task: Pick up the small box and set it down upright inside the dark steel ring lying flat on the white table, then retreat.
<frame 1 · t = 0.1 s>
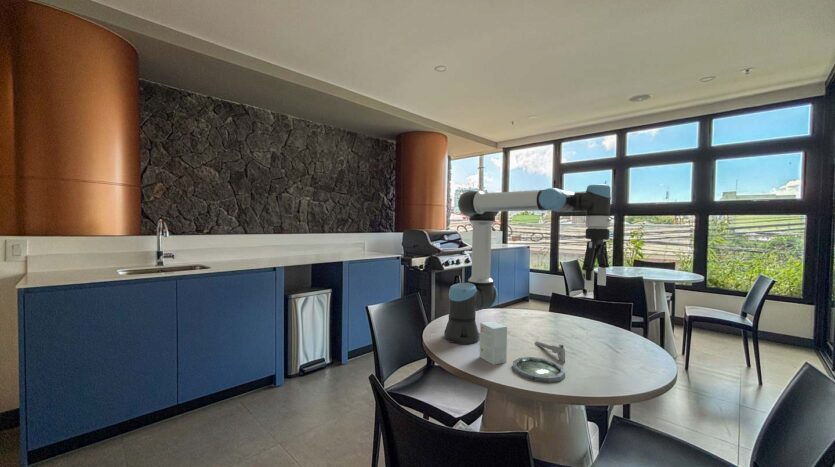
hand: (595, 287, 120), 28 cm above the table, fingers open, 13 cm apart
steel ring: (538, 371, 114), on the table
small box: (492, 360, 123), on the table
caliper: (548, 353, 132), on the table
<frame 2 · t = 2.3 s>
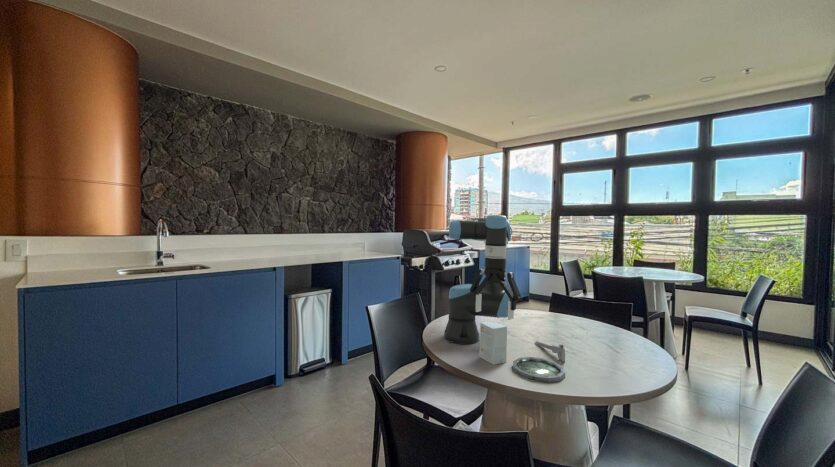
hand: (493, 315, 122), 17 cm above the table, fingers open, 13 cm apart
nothing on the table moved.
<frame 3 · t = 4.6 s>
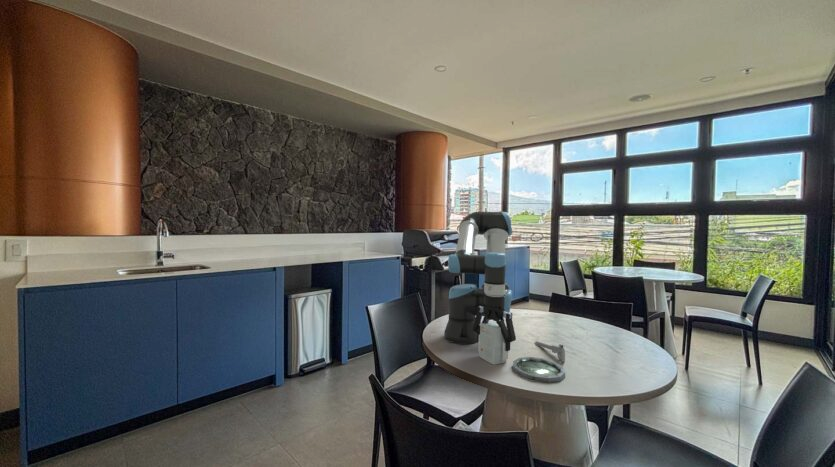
hand: (492, 355, 123), 2 cm above the table, fingers closed on small box, 9 cm apart
small box: (492, 360, 123), on the table, touching gripper
everything else where it was.
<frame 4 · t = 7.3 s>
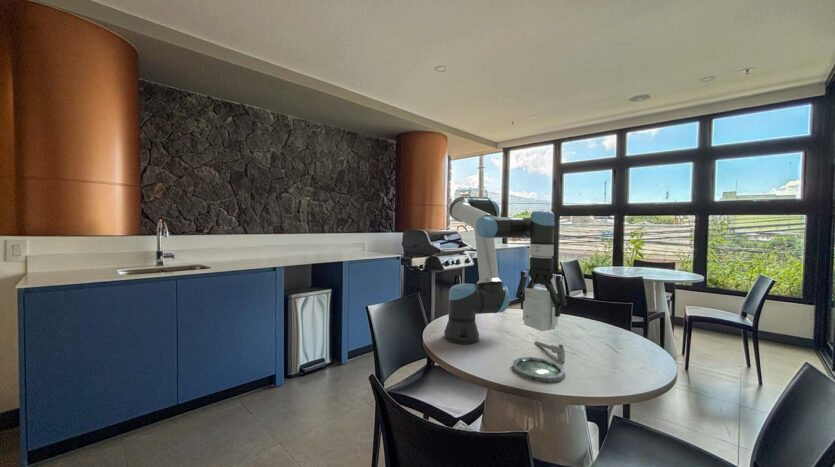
hand: (539, 322, 113), 17 cm above the table, fingers closed on small box, 9 cm apart
small box: (539, 327, 113), point 15 cm above the table, touching gripper
everything else where it was.
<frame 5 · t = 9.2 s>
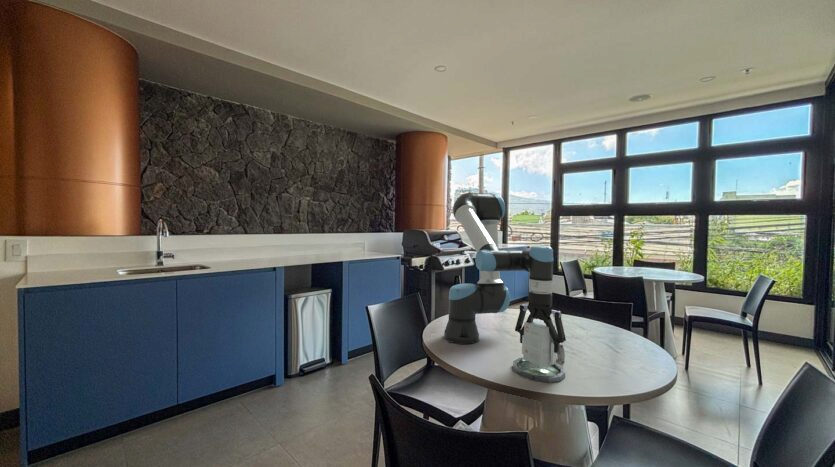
hand: (538, 357, 114), 5 cm above the table, fingers closed on small box, 9 cm apart
small box: (538, 362, 114), point 3 cm above the table, touching gripper
everything else where it was.
when the fingers open (4 cm above the table, at t = 10.5 s): small box drops 1 cm, resting on steel ring.
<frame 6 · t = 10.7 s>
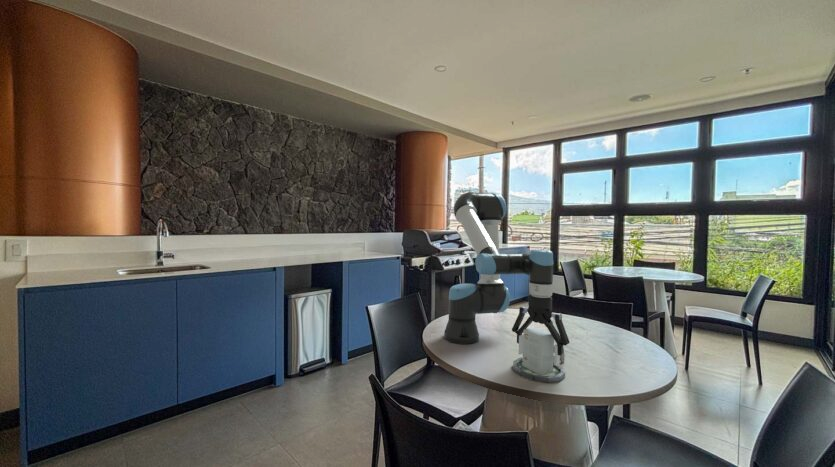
hand: (538, 358, 114), 4 cm above the table, fingers open, 12 cm apart
small box: (537, 369, 114), resting on steel ring
everything else where it was.
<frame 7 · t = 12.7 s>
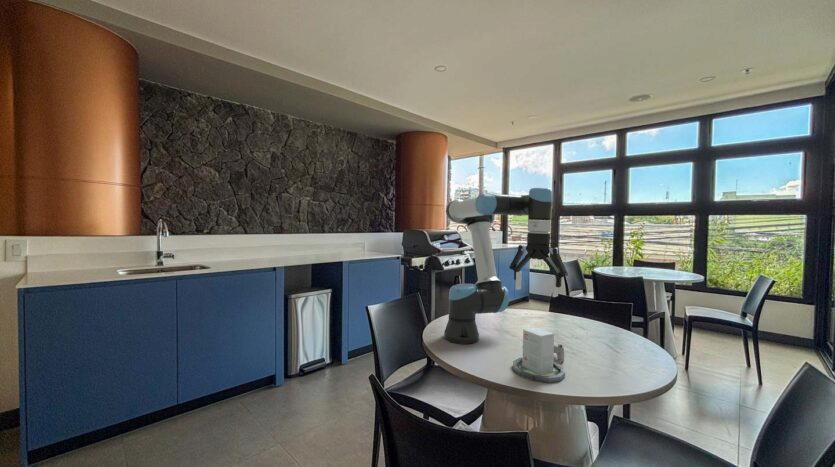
hand: (535, 292, 117), 26 cm above the table, fingers open, 13 cm apart
nothing on the table moved.
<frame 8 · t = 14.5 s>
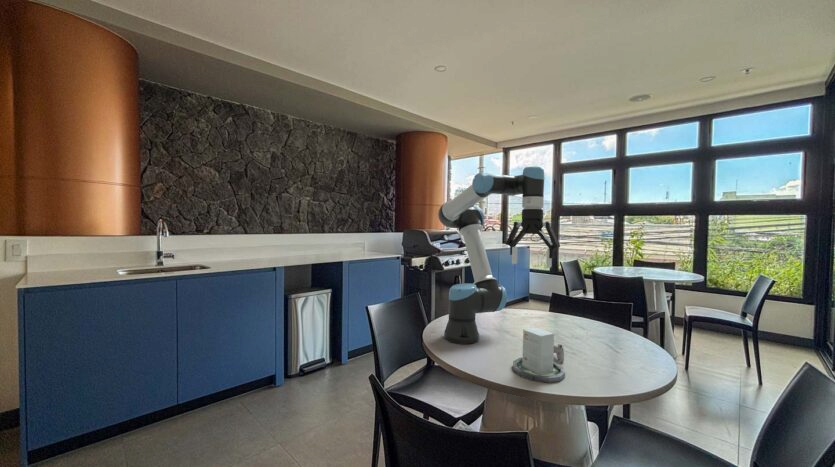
hand: (530, 265, 125), 35 cm above the table, fingers open, 13 cm apart
nothing on the table moved.
at the end: small box inside the target area on the steel ring (0.2 cm from its centre), point 0.4 cm above the steel ring's base; small box tilted 0°; the gripper is holding nothing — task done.
